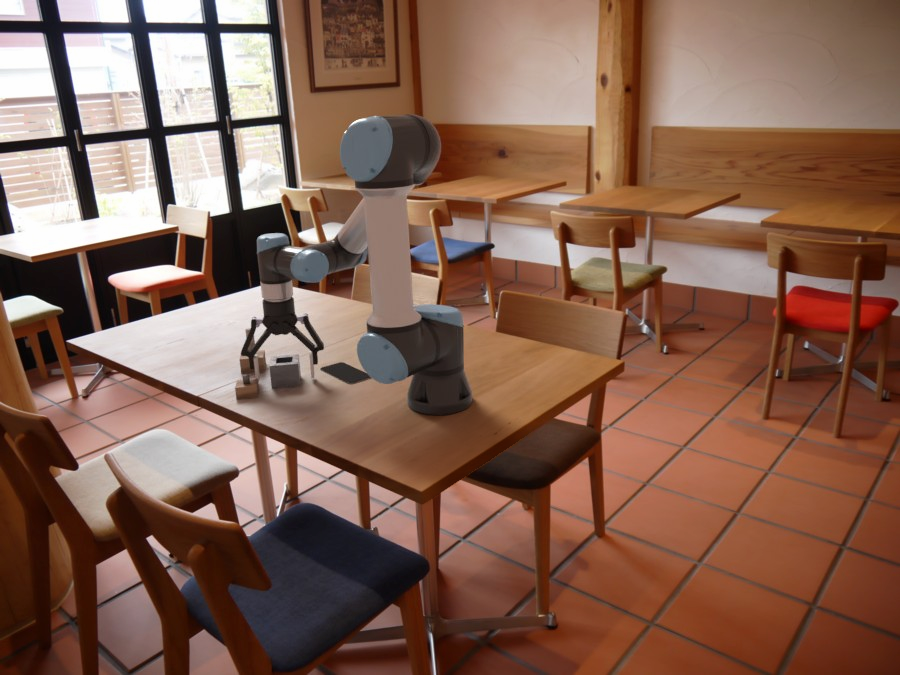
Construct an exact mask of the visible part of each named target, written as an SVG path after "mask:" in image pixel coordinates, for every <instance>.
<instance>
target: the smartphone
mask: <svg viewBox="0 0 900 675" xmlns="http://www.w3.org/2000/svg"><path fill="white" fill-rule="evenodd" d="M320 371H321V372H324V373H325V374H327V375H329V376H331V377H333V378H336V380H337V379H338V380H339V381H342V382H343V383H345V384H348V385H354V384H357V383H360V382H364V381H366V380H370V379H372V378H371V377H370V376H369V375H368V373H367V372H366V371H364V370H361V369H358V368H357V367H354V366H352V365H350V364H348V363H345V362H343V361H339V362H337V363H332V364H329V365H326V366H321V367H320Z"/></svg>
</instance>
